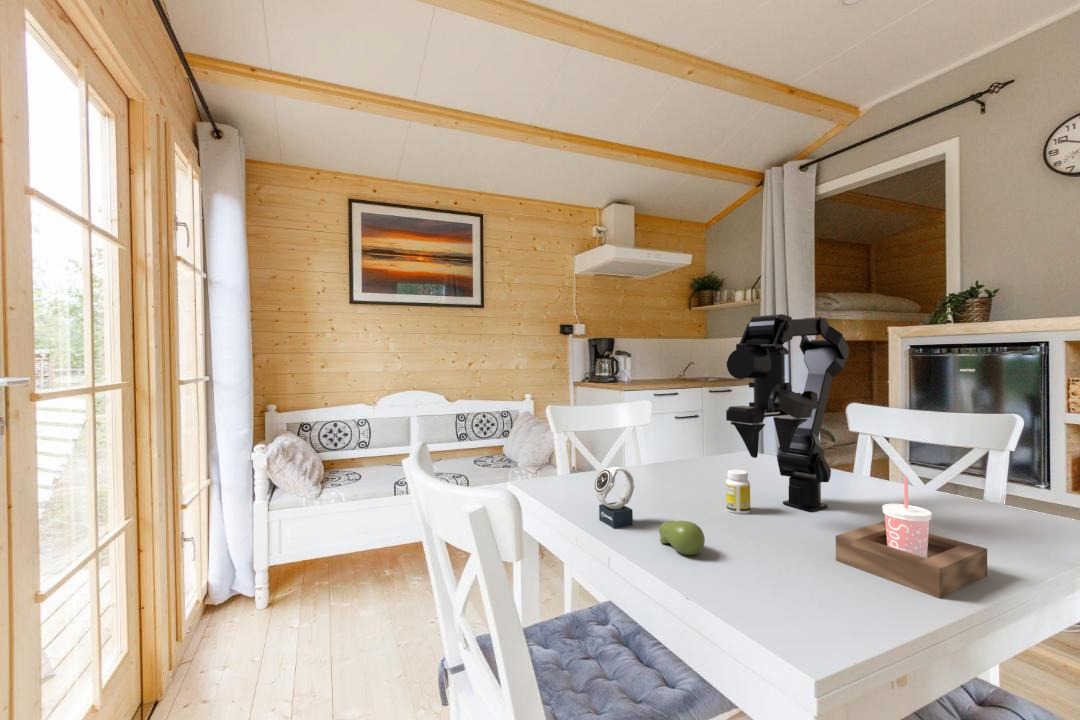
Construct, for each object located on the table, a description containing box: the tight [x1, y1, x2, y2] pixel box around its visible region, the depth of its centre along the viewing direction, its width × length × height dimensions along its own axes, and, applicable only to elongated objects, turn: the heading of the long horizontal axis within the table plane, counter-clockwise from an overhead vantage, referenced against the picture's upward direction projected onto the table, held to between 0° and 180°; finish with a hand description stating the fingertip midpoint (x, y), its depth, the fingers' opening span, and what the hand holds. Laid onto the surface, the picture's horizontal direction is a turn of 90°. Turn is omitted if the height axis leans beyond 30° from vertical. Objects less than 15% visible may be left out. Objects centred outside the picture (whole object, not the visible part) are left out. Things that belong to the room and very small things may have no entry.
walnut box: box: [835, 520, 988, 599], centre depth 75 cm, size 14×14×4 cm
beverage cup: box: [881, 476, 933, 558], centre depth 75 cm, size 6×6×14 cm
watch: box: [594, 466, 635, 530], centre depth 97 cm, size 6×8×11 cm
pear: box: [659, 520, 706, 556], centre depth 84 cm, size 6×5×10 cm
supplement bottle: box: [725, 469, 751, 515], centre depth 103 cm, size 5×5×8 cm
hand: (769, 455), depth 97 cm, fingers open, 9 cm apart
